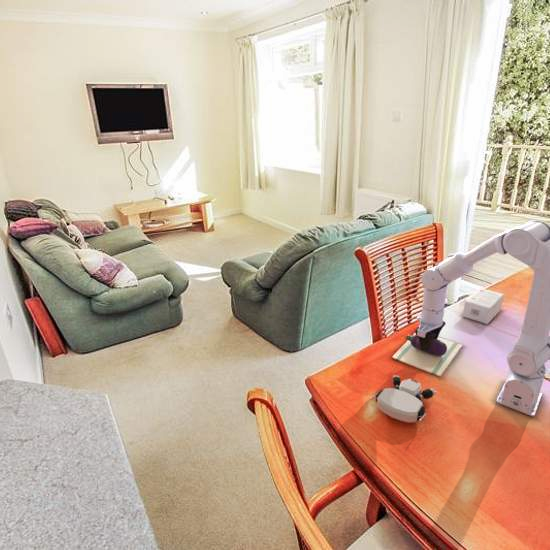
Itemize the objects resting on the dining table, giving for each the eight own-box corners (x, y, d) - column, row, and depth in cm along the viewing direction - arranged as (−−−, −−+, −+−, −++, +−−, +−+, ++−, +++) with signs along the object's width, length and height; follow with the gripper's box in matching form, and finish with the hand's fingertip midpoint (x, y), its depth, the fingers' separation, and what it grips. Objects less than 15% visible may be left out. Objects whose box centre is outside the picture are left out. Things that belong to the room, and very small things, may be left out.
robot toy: (391, 382, 102) (367, 412, 92) (393, 368, 101) (368, 397, 90) (438, 400, 95) (417, 435, 84) (440, 386, 93) (419, 419, 83)
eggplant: (448, 353, 110) (450, 340, 109) (442, 361, 107) (444, 347, 105) (409, 340, 118) (410, 327, 116) (403, 346, 115) (404, 334, 113)
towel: (440, 376, 102) (440, 375, 102) (391, 358, 111) (392, 356, 111) (462, 346, 114) (462, 345, 114) (417, 331, 123) (417, 330, 123)
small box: (486, 325, 124) (501, 310, 131) (489, 308, 121) (504, 294, 129) (461, 316, 129) (477, 303, 137) (464, 300, 127) (480, 287, 134)
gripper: (429, 293, 113) (424, 331, 119) (408, 312, 104) (404, 353, 109) (453, 299, 109) (447, 338, 114) (434, 320, 99) (428, 362, 105)
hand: (428, 346), depth 112 cm, fingers closed on eggplant, 4 cm apart
